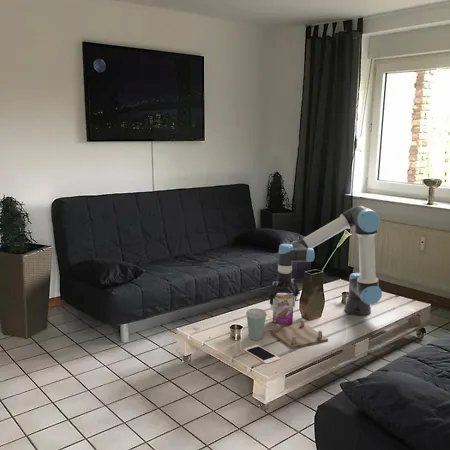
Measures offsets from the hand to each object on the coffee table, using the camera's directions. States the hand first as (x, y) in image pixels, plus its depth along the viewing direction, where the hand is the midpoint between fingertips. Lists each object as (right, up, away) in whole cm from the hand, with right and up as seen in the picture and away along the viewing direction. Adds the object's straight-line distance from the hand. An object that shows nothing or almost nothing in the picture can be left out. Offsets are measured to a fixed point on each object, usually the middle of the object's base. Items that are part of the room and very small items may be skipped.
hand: (282, 308), depth 280 cm
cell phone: (-15, -17, -38) cm, 44 cm away
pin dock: (+6, -12, -17) cm, 22 cm away
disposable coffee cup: (-16, -12, -19) cm, 28 cm away
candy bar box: (0, -8, +2) cm, 8 cm away
